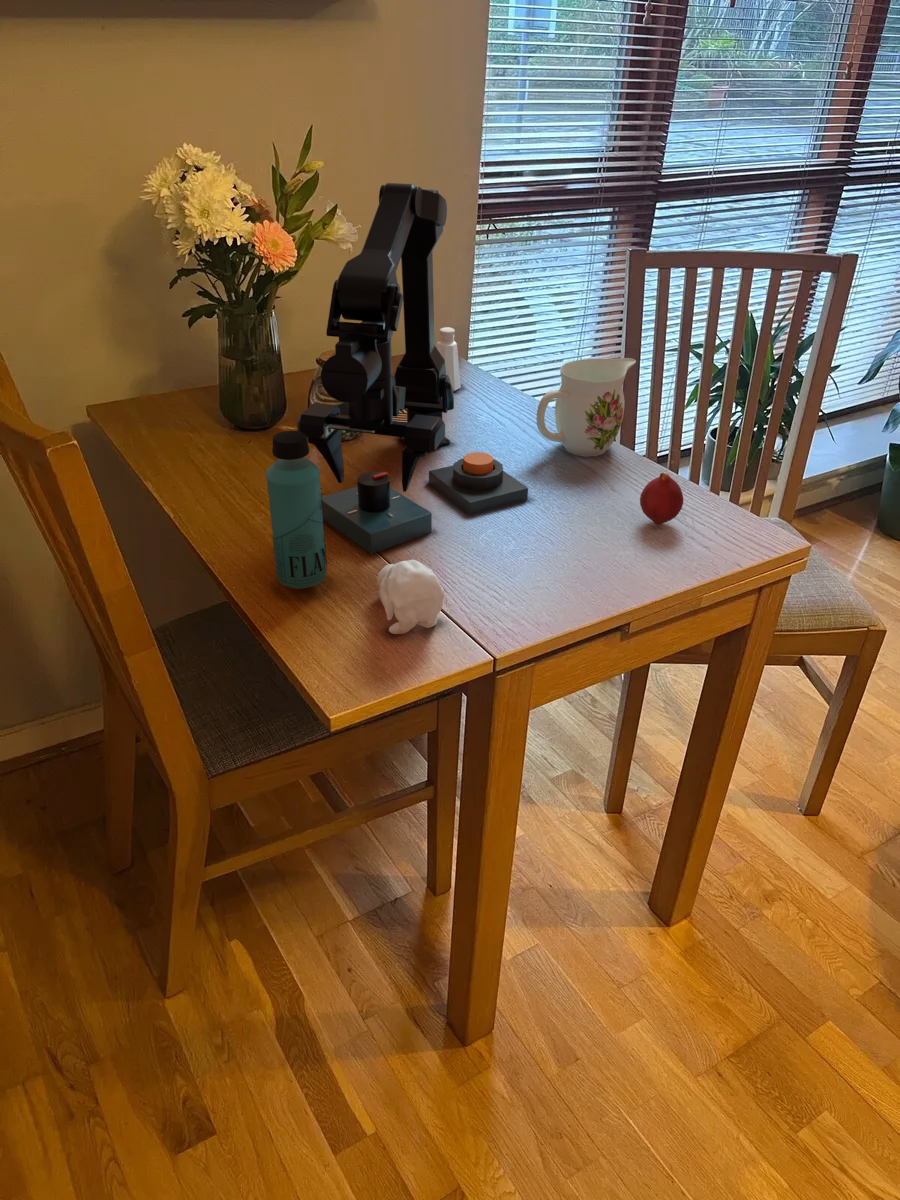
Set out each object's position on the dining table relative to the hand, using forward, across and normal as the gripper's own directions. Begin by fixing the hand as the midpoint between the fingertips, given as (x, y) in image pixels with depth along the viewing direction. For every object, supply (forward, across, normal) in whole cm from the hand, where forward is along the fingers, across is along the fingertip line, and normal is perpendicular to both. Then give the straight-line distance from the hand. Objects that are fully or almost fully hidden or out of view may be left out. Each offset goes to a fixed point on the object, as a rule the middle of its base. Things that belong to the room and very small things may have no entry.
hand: (373, 486), depth 125 cm
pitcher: (+6, -24, -34) cm, 42 cm away
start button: (+2, -11, -14) cm, 18 cm away
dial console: (+6, 0, 0) cm, 6 cm away
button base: (+6, -11, -14) cm, 19 cm away
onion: (+6, -38, -11) cm, 40 cm away
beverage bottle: (+6, +4, +18) cm, 19 cm away
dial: (+3, 0, 0) cm, 3 cm away
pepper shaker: (0, +4, -55) cm, 56 cm away
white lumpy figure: (+6, -11, +20) cm, 24 cm away
